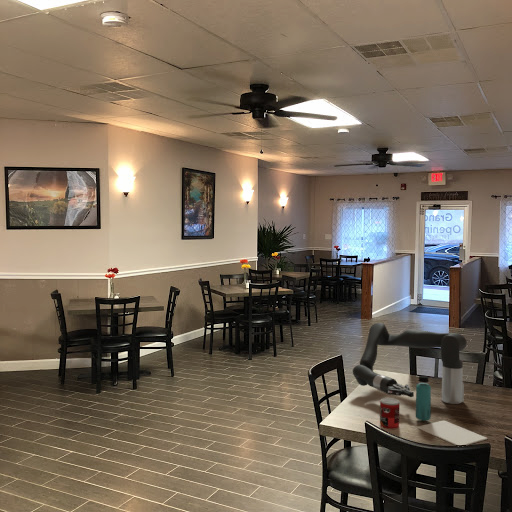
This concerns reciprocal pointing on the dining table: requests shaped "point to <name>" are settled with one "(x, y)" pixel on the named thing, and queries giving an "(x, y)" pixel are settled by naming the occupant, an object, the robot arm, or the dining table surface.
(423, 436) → the dining table surface
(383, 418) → the canned food
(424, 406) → the beverage bottle
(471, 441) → the mat
